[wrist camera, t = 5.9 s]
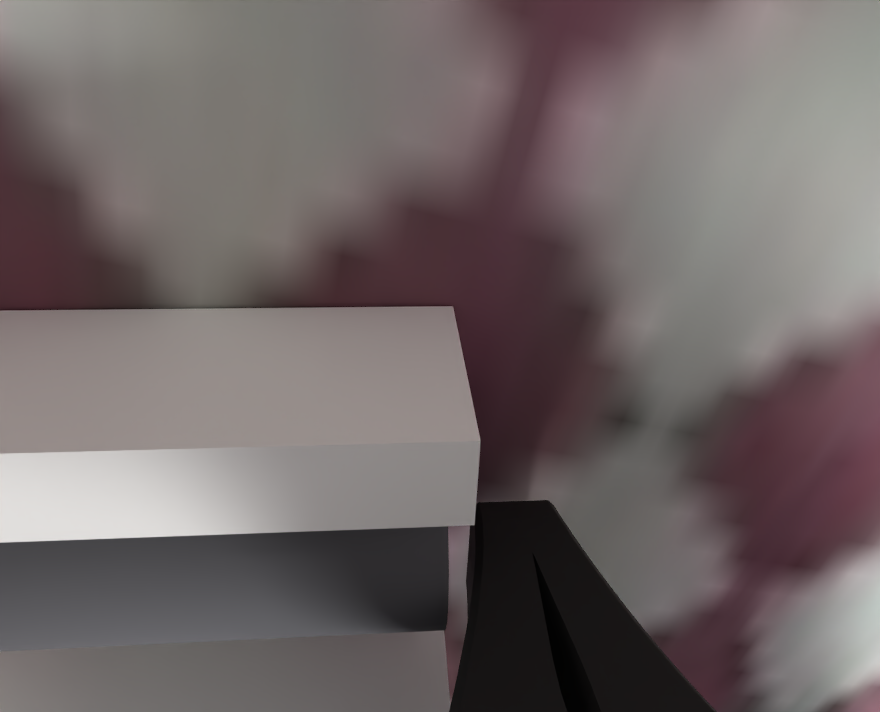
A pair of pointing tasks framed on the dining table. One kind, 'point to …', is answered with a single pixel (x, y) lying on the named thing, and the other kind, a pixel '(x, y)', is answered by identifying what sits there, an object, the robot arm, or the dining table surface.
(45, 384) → the duct
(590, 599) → the robot arm
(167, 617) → the dark grey cylinder
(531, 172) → the dining table surface
